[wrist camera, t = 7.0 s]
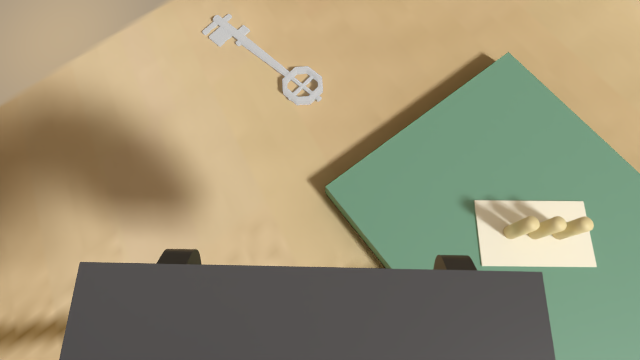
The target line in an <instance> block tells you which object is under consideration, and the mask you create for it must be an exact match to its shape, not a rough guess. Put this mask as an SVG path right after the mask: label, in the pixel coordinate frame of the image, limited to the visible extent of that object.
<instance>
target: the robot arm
mask: <svg viewBox="0 0 640 360" xmlns="http://www.w3.org/2000/svg"><path fill="white" fill-rule="evenodd" d="M156 264H194V265H201V259H200V254H199V251H198V250H196V249H166V250H165V251H164V252H163V254H162V255H161V257H160V259H159V260H158V262H157V263H156ZM433 270H477V268H476V267H475V265H474V263H473V261H472V259H471V258H470V256H468V255H437V256H436V259H435V263H434V268H433Z"/></svg>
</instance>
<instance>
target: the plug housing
mask: <svg viewBox="0 0 640 360" xmlns="http://www.w3.org/2000/svg"><path fill="white" fill-rule="evenodd" d="M59 360H556V359H555V352H554V346H553V339H552V333H551V326H550V320H549V313H548V307H547V300H546V294H545V287H544V281H543V274H542V272H526V271H479V270H431V269H384V268H336V267H289V266H242V265H194V264H147V263H100V262H80V264H79V269H78V274H77V278H76V283H75V288H74V293H73V297H72V302H71V307H70V311H69V316H68V321H67V326H66V330H65V335H64V340H63V345H62V349H61V354H60V359H59Z"/></svg>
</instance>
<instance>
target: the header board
mask: <svg viewBox="0 0 640 360" xmlns="http://www.w3.org/2000/svg"><path fill="white" fill-rule="evenodd" d="M325 193H326V194H327V195H328V197H329V198H330V199H331V200H332V202H333V203H334V204H335V205H336V207H337V208H338V209H339V210H340V212H341V213H342V214H343V215H344V217H345V218H346V219H347V220H348V222H349V223H350V224H351V225H352V227H353V228H354V229H355V230H356V232H357V233H358V234H359V235H360V236H361V238H362V239H363V240H364V241H365V243H366V244H367V245H368V246H369V248H370V249H371V250H372V251H373V253H374V254H375V255H376V256H377V258H378V259H379V260H380V261H381V263H382V264H383V265H384V266H385V268H386V269H431V270H433V268H434V263H435V259H436V256H437V255H468V256H470V258H471V259H472V261H473V263H474V265H475V267H476V268H477V270H479V271H526V272H542V274H543V281H544V287H545V294H546V300H547V307H548V313H549V320H550V326H551V333H552V339H553V346H554V352H555V359H556V360H640V174H639V173H638V172H637V171H636V170H635V169H634V168H633V167H632V166H631V165H630V164H629V163H628V162H627V161H625V160H624V159H623V158H622V157H621V156H620V155H619V154H618V153H617V152H616V151H615V150H614V149H612V148H611V147H610V146H609V145H608V144H607V143H606V142H605V141H604V140H603V139H602V138H601V137H600V136H598V135H597V134H596V133H595V132H594V131H593V130H592V129H591V128H590V127H589V126H588V125H587V124H585V123H584V122H583V121H582V120H581V119H580V118H579V117H578V116H577V115H576V114H575V113H574V112H573V111H571V110H570V109H569V108H568V107H567V106H566V105H565V104H564V103H563V102H562V101H561V100H560V99H558V98H557V97H556V96H555V95H554V94H553V93H552V92H551V91H550V90H549V89H548V88H547V87H546V86H544V85H543V84H542V83H541V82H540V81H539V80H538V79H537V78H536V77H535V76H534V75H533V74H531V73H530V72H529V71H528V70H527V69H526V68H525V67H524V66H523V65H522V64H521V63H520V62H519V61H517V60H516V59H515V58H514V57H513V56H512V55H511V54H510V53H509V52H508V53H507V54H505V55H504V56H502V57H501V58H500V59H498V60H497V61H496V62H494V63H493V64H492V65H490V66H489V67H487V68H486V69H485V70H483V71H482V72H481V73H479V74H478V75H477V76H475V77H474V78H472V79H471V80H470V81H468V82H467V83H466V84H464V85H463V86H462V87H460V88H459V89H457V90H456V91H455V92H453V93H452V94H451V95H449V96H448V97H447V98H445V99H444V100H443V101H441V102H440V103H438V104H437V105H436V106H434V107H433V108H432V109H430V110H429V111H428V112H426V113H425V114H423V115H422V116H421V117H419V118H418V119H417V120H415V121H414V122H413V123H411V124H410V125H408V126H407V127H406V128H404V129H403V130H402V131H400V132H399V133H398V134H396V135H395V136H393V137H392V138H391V139H389V140H388V141H387V142H385V143H384V144H383V145H381V146H380V147H379V148H377V149H376V150H374V151H373V152H372V153H370V154H369V155H368V156H366V157H365V158H364V159H362V160H361V161H359V162H358V163H357V164H355V165H354V166H353V167H351V168H350V169H349V170H347V171H346V172H344V173H343V174H342V175H340V176H339V177H338V178H336V179H335V180H334V181H332V182H331V183H329V184H328V185H327V186H325Z"/></svg>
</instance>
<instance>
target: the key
mask: <svg viewBox="0 0 640 360" xmlns="http://www.w3.org/2000/svg"><path fill="white" fill-rule="evenodd" d="M231 18H232V16H231V15H230V14H227V15H226V16H225V17H224V18H221V17H220V16H219V15H216V16H214V18H213V21H214V22H212V23H211V24H210V25H209V26H208V27H207V28H205V29H204V30H203V31H202V32H203V34H204V35H207V34H208V33H209V32H210V31H211V30H212V29H213V28H215V27H216V26H217V25H219V26H220V27H219V28H218V29H217V30H216V31H214V32H213V33H212V34H211V35H210V36H209V39H211V40H212V41H213V42H214V43H216V44H217V45H218V46H220V47H221V46H222V45H223V44H224V43H225V41H227V40H228V39H230V38H231V37H232V36H234V37H235V38H236V39H237V41H236V45H238V46H240V45H241V44H242V45H243V46H244V47H245V48H247V49H248V50H250V51H251V52H252V53H254V54H255V55H256V56H258V57H259V58H260V59H262V60H263V61H264V62H266V63H267V64H269V65H270V66H271V67H273V68H274V69H275V70H277V72H279V73H281V74H282V75H283V76H285V77H284V78H283V79H282V84H283V94H284V95H285V96H286V97H287V98H288V99H289V100H291V101H293V102H294V103H295V104H296V105H308V104H311V103H312V102H313V101H314V100H315V99H316V100H317V101H320V100H321V97H320V96H319V95H320V94H321V93H322V92H323V85H322V77H321V76H320V75H319V74H318V73H316V72H315V71H314V70H312V69H311V68H310V67H308V66H306V67H295V68H293V69H292V70H291V71H290V72H289V71H288V70H287V69H285V68H284V67H283V66H282V65H281V64H279V63H278V62H277V61H276V60H274V59H273V58H272V57H271V56H269V55H268V54H267V53H266V52H264V51H263V50H262V49H261V48H260V47H258V46H257V45H256V44H255V43H253V42H252V41H251V40H250V39H248V38H247V37H246V36H245V35H246V34H247V33H249V32H250V30H249V29H248V28H247V27H246V26H244V25H243V26H242V27H241V28H239V29H238V30H237V29H236V28H234V27H233V26H232V25H230V24H229V23H228V22H227V21H229V20H230V19H231ZM297 74H308V75H309V76H310V77H309V78H308V79H307V80H306V81H305V82H304V83H303V84H302V83H301V82H300V81H298V80H297V79H296V78H295V76H296V75H297ZM312 79H315V80H316V81H317V82H318V87H317V88H316V89H315V90H314V91H311V90H310V89H309V88H307V87H306V85H307V84H308V83H309V82H310V81H311V80H312ZM291 80H292V81H294V82H295V83H296V84H297V85H299V86H300V87H299V88H297V89H296V90H295V91H294V92H293V93H292V92H291V91H290V90H289V89H287V83H289V82H290V81H291ZM302 89H304V90H305V91H307V92H308V93H309V94H310V95H309V96H303V97H297V96H296V95H297V94H298V93H299V92H300V91H301V90H302Z"/></svg>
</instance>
